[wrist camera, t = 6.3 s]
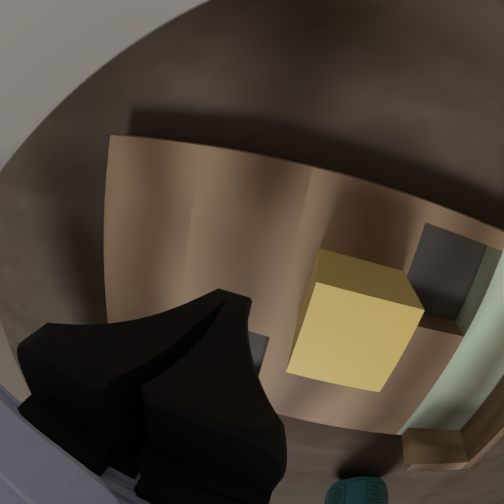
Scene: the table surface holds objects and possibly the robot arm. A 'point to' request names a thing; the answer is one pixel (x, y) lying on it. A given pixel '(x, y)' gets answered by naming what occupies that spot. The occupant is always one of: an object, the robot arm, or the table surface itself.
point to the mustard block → (353, 322)
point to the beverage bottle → (358, 491)
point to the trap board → (298, 276)
